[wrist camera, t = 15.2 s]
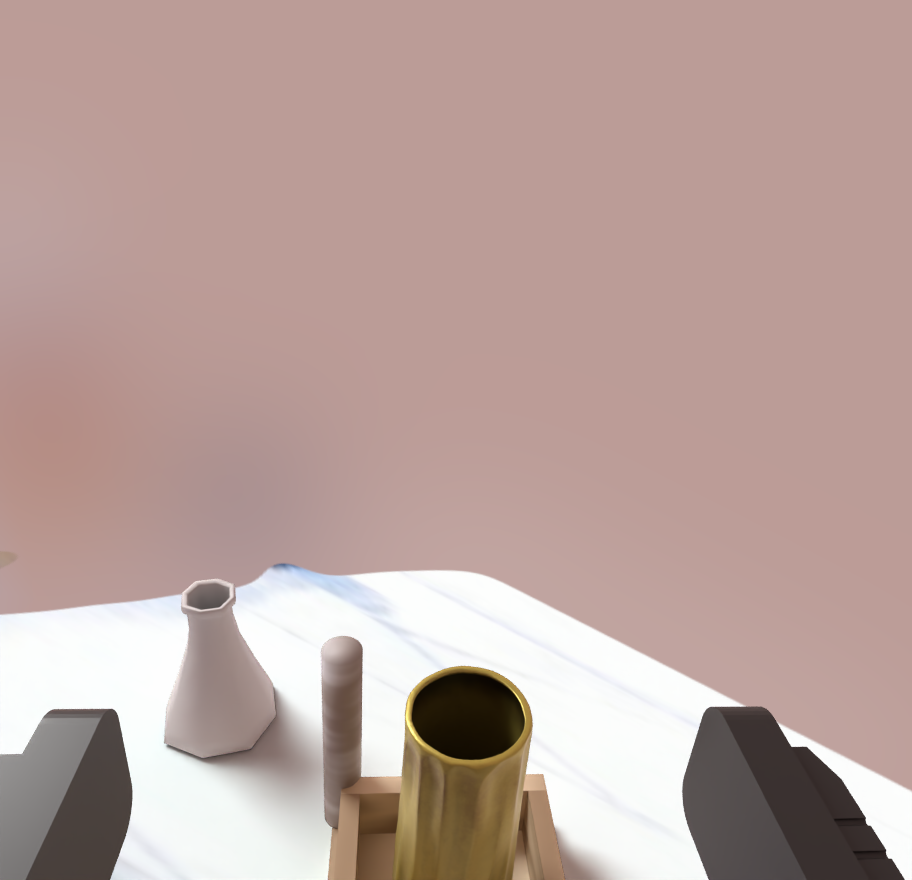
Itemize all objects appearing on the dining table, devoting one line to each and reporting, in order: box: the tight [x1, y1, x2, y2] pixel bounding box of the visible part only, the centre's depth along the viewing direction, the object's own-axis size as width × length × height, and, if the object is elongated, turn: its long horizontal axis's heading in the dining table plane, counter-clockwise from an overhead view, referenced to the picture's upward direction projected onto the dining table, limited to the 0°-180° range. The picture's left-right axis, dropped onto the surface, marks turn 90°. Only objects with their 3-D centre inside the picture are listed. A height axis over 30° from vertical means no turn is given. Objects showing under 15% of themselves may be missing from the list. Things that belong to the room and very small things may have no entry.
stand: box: [321, 636, 565, 880], centre depth 33 cm, size 12×13×13 cm
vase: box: [392, 666, 533, 880], centre depth 32 cm, size 6×6×14 cm
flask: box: [164, 579, 276, 758], centre depth 45 cm, size 7×7×10 cm
